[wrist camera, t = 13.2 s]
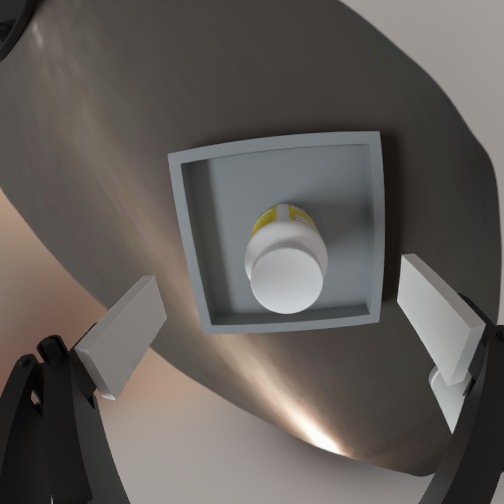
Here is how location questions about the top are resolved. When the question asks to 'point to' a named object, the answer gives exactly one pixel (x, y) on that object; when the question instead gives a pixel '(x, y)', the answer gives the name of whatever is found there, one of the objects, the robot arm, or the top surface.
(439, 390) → the travel mug
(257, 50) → the top surface
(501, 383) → the robot arm
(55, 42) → the top surface
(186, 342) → the top surface
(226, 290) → the tray
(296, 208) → the supplement bottle
